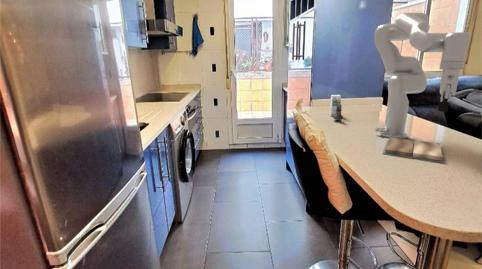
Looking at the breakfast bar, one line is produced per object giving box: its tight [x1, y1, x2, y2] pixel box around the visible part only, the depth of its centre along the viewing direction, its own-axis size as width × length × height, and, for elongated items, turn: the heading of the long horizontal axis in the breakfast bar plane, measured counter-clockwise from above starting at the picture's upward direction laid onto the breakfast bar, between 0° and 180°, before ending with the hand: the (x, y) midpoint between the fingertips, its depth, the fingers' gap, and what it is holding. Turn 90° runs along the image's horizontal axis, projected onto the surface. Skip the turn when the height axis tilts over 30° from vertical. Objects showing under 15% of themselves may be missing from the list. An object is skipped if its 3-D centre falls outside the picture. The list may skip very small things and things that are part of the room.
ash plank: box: [413, 140, 444, 161], centre depth 122 cm, size 10×20×2 cm, turn 148°
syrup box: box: [329, 94, 342, 118], centre depth 192 cm, size 6×6×14 cm
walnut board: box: [385, 138, 414, 157], centre depth 127 cm, size 10×20×2 cm, turn 148°
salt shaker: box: [333, 103, 344, 123], centre depth 178 cm, size 6×6×12 cm
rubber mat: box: [382, 139, 445, 164], centre depth 125 cm, size 22×22×1 cm
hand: (442, 111), depth 116 cm, fingers closed
